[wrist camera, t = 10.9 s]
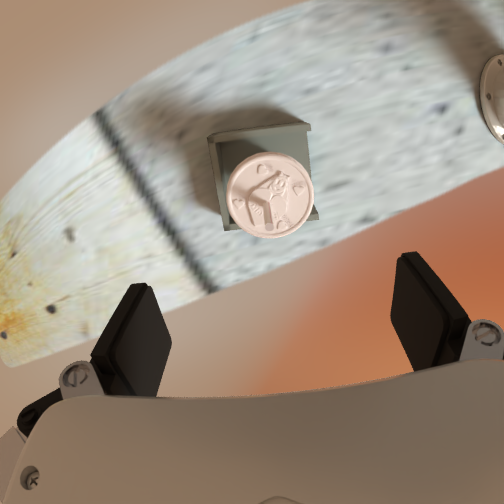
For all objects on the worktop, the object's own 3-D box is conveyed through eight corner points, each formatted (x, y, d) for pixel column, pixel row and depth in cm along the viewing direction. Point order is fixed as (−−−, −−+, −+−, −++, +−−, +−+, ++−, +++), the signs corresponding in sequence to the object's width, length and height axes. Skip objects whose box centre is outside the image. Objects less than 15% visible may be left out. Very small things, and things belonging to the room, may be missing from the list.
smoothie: (222, 183, 31) (200, 239, 18) (252, 128, 29) (251, 143, 16) (277, 211, 32) (292, 283, 20) (309, 159, 30) (349, 199, 17)
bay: (304, 121, 29) (310, 124, 25) (313, 207, 33) (318, 219, 30) (212, 133, 29) (207, 137, 26) (227, 218, 33) (224, 231, 30)
